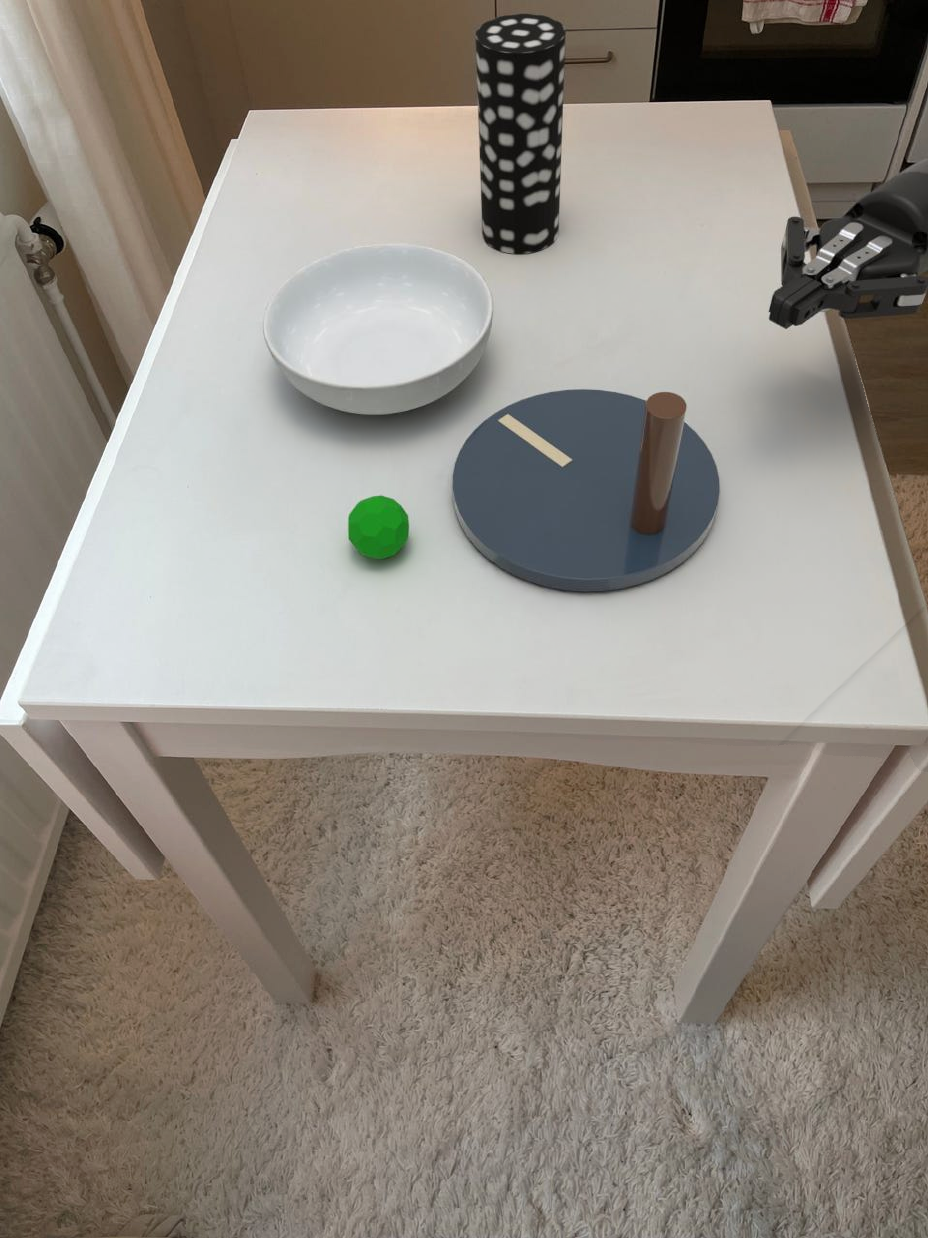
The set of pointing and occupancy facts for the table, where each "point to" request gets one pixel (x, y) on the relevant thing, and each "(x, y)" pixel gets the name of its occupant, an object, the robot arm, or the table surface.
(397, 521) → the polyhedron
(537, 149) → the spotted tube
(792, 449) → the table surface
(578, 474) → the peg stand
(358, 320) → the serving bowl
